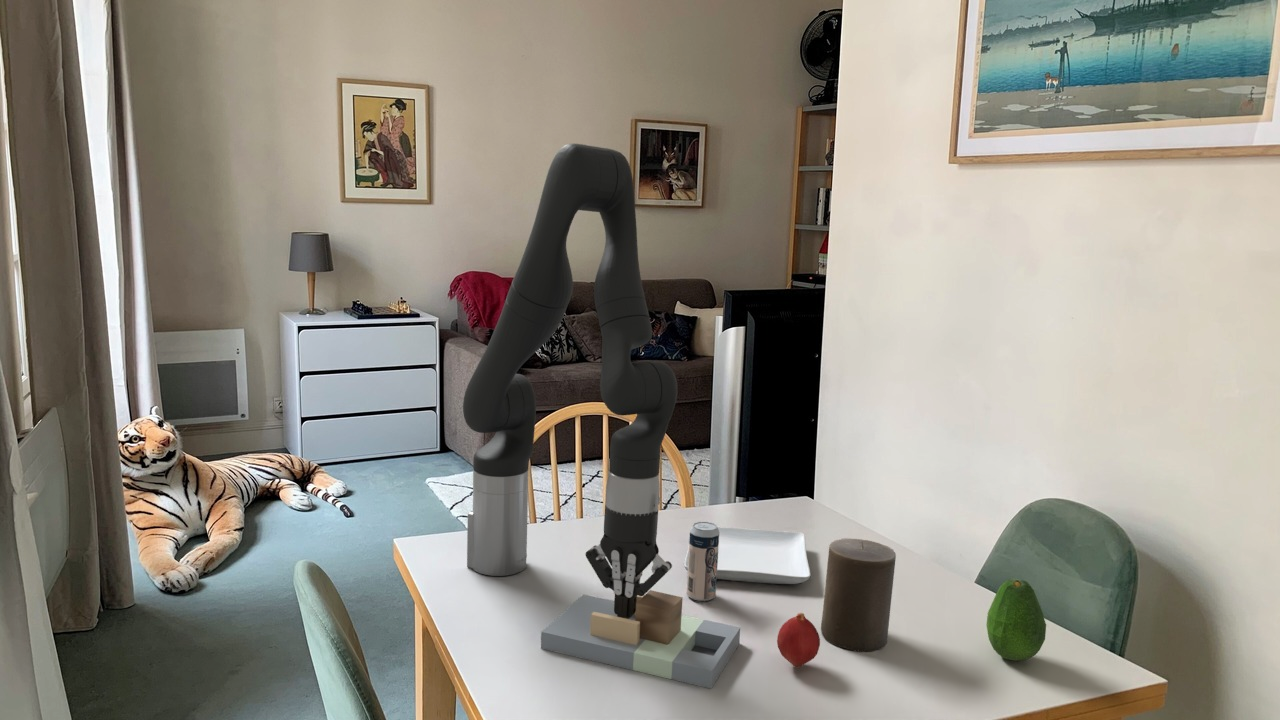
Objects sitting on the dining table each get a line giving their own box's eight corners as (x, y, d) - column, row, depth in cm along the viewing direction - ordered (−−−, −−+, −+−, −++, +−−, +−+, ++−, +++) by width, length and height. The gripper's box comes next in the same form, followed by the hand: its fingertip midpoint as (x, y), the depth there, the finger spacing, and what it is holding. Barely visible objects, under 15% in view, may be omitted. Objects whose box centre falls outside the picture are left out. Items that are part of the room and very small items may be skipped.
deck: (540, 648, 130) (541, 611, 129) (582, 609, 142) (584, 575, 141) (710, 688, 121) (713, 649, 120) (739, 643, 134) (741, 607, 133)
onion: (771, 656, 130) (775, 602, 129) (811, 656, 131) (815, 603, 129) (780, 676, 124) (785, 621, 123) (822, 676, 125) (827, 621, 124)
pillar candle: (849, 657, 131) (860, 556, 128) (807, 627, 139) (816, 533, 137) (901, 645, 135) (912, 548, 133) (857, 617, 144) (866, 526, 141)
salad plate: (682, 584, 154) (683, 565, 154) (690, 540, 175) (691, 522, 175) (810, 595, 152) (811, 576, 152) (803, 549, 173) (804, 531, 172)
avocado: (971, 648, 135) (980, 571, 133) (1017, 643, 137) (1026, 567, 135) (1007, 675, 128) (1017, 594, 126) (1054, 670, 130) (1065, 589, 128)
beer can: (713, 604, 146) (718, 532, 144) (684, 600, 147) (688, 529, 145) (717, 592, 151) (721, 522, 149) (688, 588, 152) (692, 519, 150)
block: (634, 636, 129) (636, 603, 128) (648, 622, 133) (650, 590, 132) (667, 645, 127) (669, 610, 126) (680, 630, 131) (682, 597, 130)
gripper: (577, 501, 128) (571, 617, 131) (666, 519, 123) (658, 639, 126) (600, 487, 135) (593, 597, 138) (685, 503, 130) (676, 617, 133)
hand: (624, 617), depth 132 cm, fingers closed
